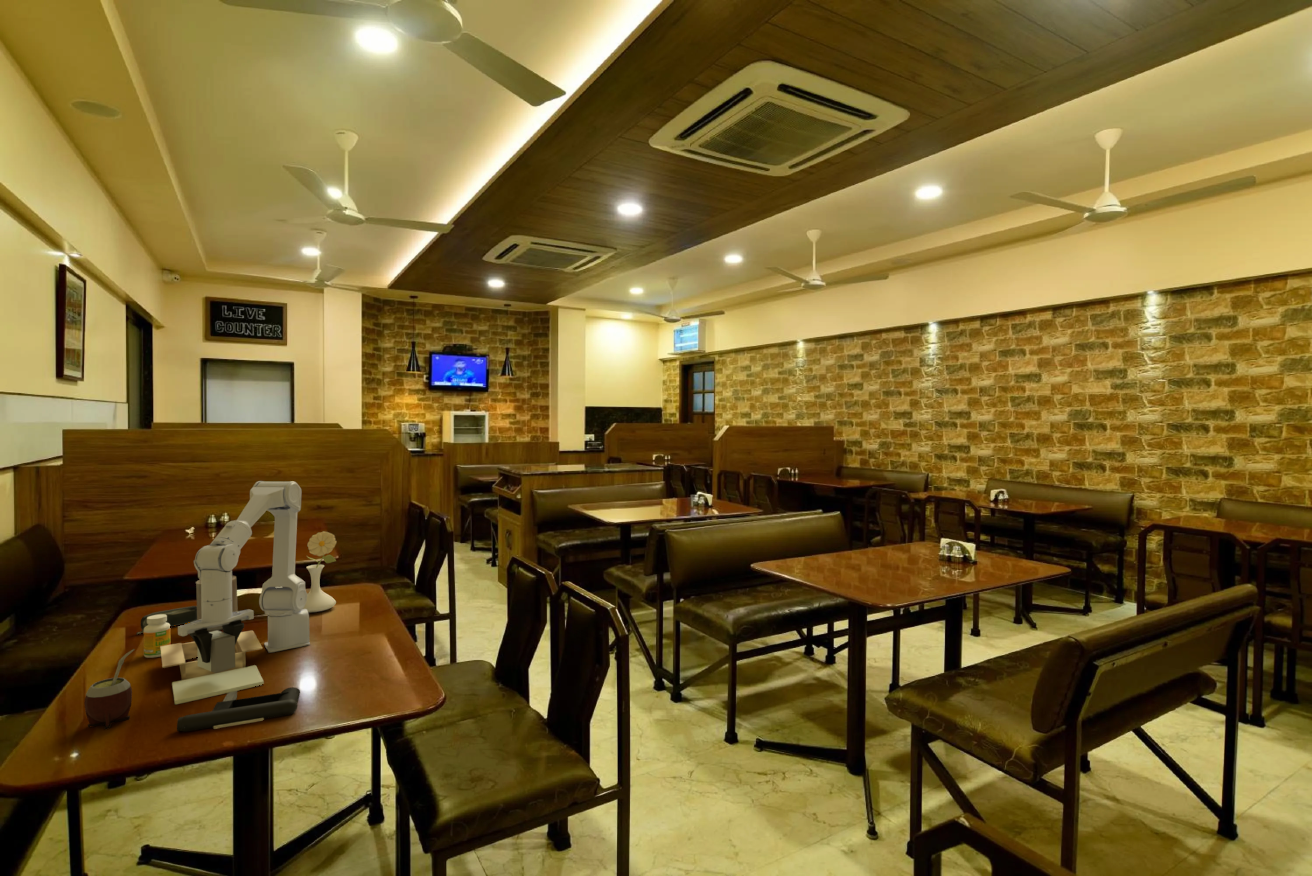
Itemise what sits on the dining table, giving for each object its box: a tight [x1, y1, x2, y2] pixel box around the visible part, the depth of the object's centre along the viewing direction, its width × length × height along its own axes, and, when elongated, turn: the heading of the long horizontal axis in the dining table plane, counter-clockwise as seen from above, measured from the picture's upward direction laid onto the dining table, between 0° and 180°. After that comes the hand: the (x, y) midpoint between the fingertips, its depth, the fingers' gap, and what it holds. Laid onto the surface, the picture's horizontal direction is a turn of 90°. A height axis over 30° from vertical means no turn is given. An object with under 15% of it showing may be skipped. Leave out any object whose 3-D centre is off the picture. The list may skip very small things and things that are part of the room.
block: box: [197, 630, 236, 673], centre depth 143 cm, size 4×8×7 cm, turn 59°
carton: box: [160, 630, 263, 680], centre depth 154 cm, size 19×16×4 cm
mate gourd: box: [84, 648, 136, 730], centre depth 125 cm, size 8×8×15 cm
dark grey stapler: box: [135, 605, 197, 636], centre depth 181 cm, size 5×3×15 cm
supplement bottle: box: [143, 614, 172, 659], centre depth 161 cm, size 5×5×10 cm
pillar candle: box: [195, 574, 239, 632], centre depth 183 cm, size 10×10×15 cm
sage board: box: [171, 664, 265, 705], centre depth 143 cm, size 16×12×1 cm
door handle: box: [176, 686, 301, 733], centre depth 131 cm, size 3×20×16 cm
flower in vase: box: [303, 531, 337, 613], centre depth 198 cm, size 13×11×25 cm
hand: (217, 658), depth 142 cm, fingers closed on block, 4 cm apart
